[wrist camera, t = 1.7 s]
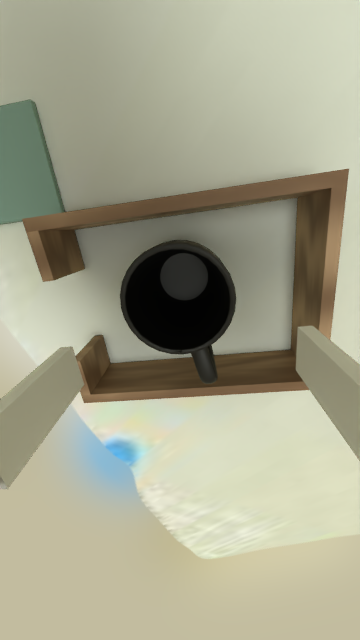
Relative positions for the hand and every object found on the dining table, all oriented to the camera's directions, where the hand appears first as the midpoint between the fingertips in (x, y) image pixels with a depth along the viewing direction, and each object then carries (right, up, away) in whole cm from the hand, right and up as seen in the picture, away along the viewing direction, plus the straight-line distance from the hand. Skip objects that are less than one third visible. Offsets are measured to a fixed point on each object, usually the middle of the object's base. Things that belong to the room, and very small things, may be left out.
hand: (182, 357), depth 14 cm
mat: (-17, +17, +9) cm, 25 cm away
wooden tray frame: (+1, +5, +12) cm, 13 cm away
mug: (+1, +5, +12) cm, 13 cm away
